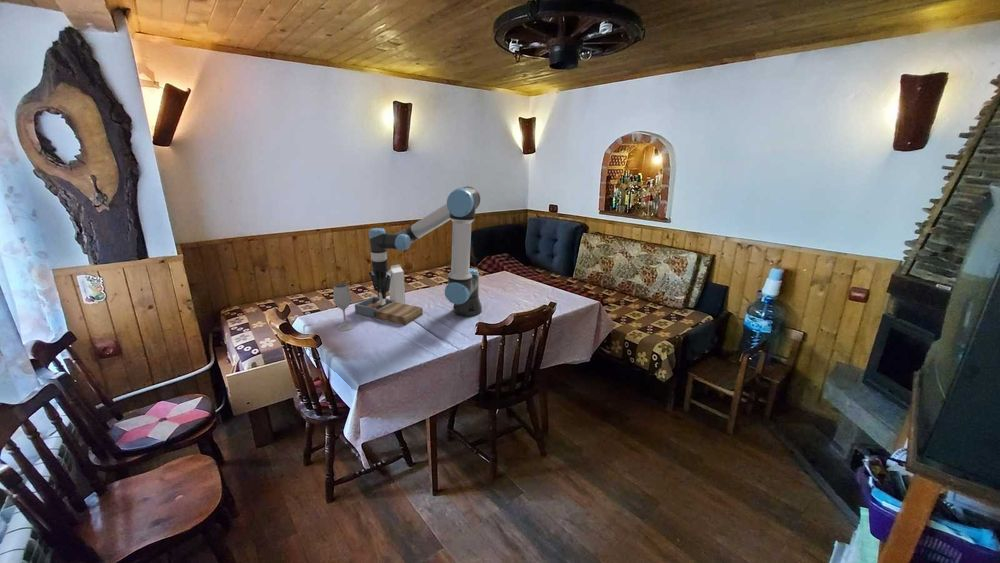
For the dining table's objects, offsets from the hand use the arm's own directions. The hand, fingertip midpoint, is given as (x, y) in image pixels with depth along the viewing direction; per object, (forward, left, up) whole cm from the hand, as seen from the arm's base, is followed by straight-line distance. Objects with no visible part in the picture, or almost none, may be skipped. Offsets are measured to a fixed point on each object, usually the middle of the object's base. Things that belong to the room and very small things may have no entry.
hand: (382, 304), depth 201 cm
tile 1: (+8, 0, -2) cm, 8 cm away
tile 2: (+3, 0, -1) cm, 3 cm away
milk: (+2, -14, -5) cm, 15 cm away
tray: (+6, 0, -5) cm, 8 cm away
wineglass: (+4, +22, -5) cm, 23 cm away
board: (-10, 0, -5) cm, 11 cm away
